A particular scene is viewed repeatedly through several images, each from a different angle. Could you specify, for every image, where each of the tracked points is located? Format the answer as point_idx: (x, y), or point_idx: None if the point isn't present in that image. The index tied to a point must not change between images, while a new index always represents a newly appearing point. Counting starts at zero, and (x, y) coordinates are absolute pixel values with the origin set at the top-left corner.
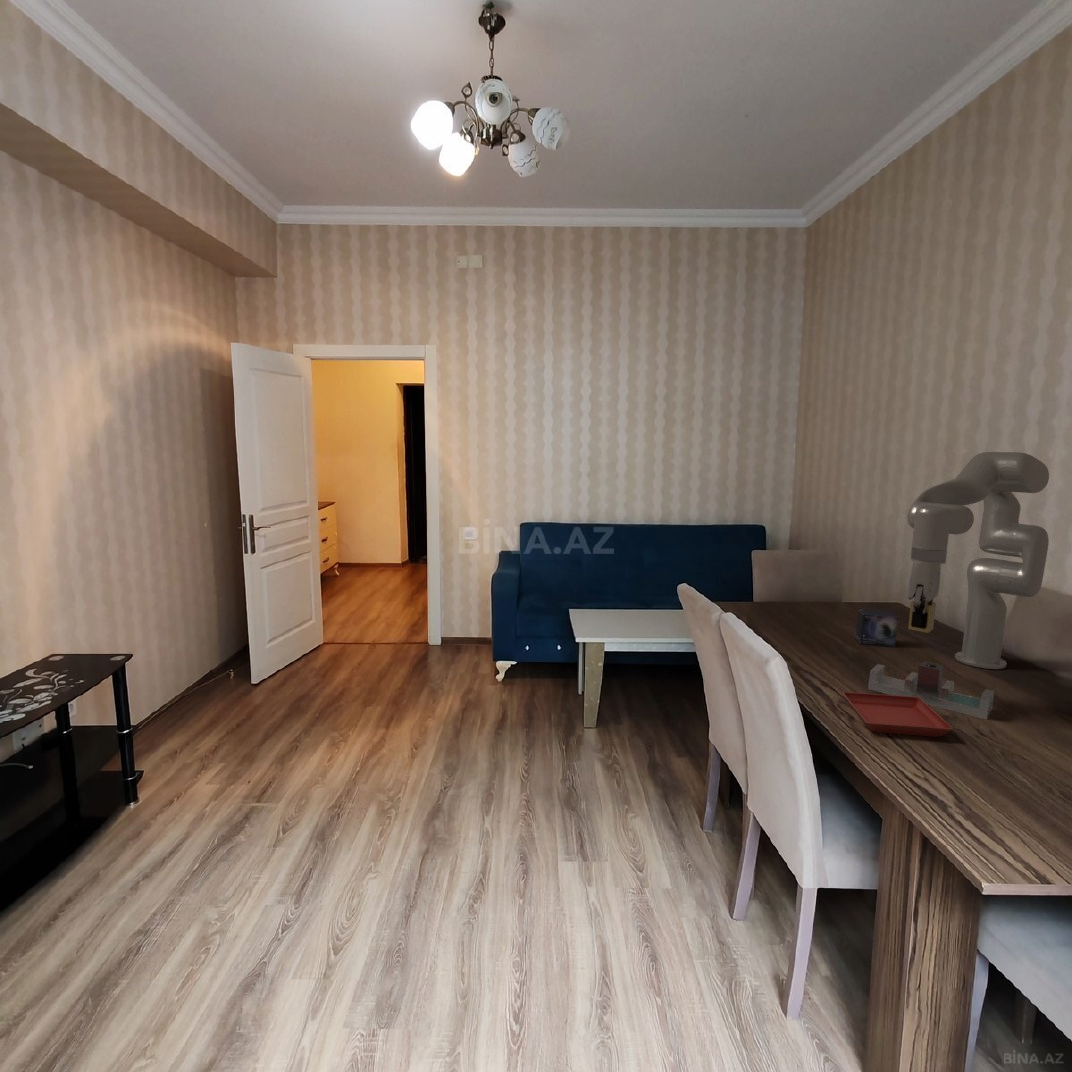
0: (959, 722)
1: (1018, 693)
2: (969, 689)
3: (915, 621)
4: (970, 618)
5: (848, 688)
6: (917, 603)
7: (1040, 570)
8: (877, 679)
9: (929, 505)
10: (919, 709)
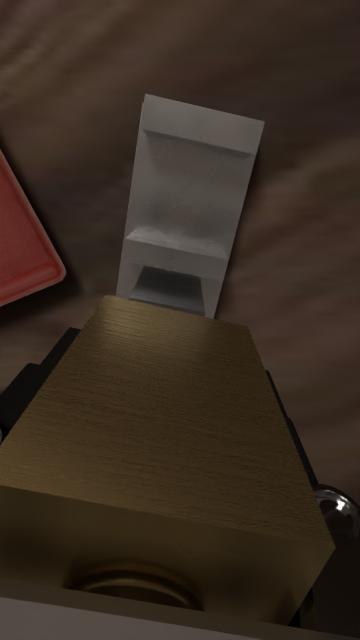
0: (41, 357)
1: (332, 474)
2: (310, 388)
3: (20, 380)
4: None
5: (108, 29)
6: None
7: None
8: (157, 135)
9: None
10: (30, 275)
